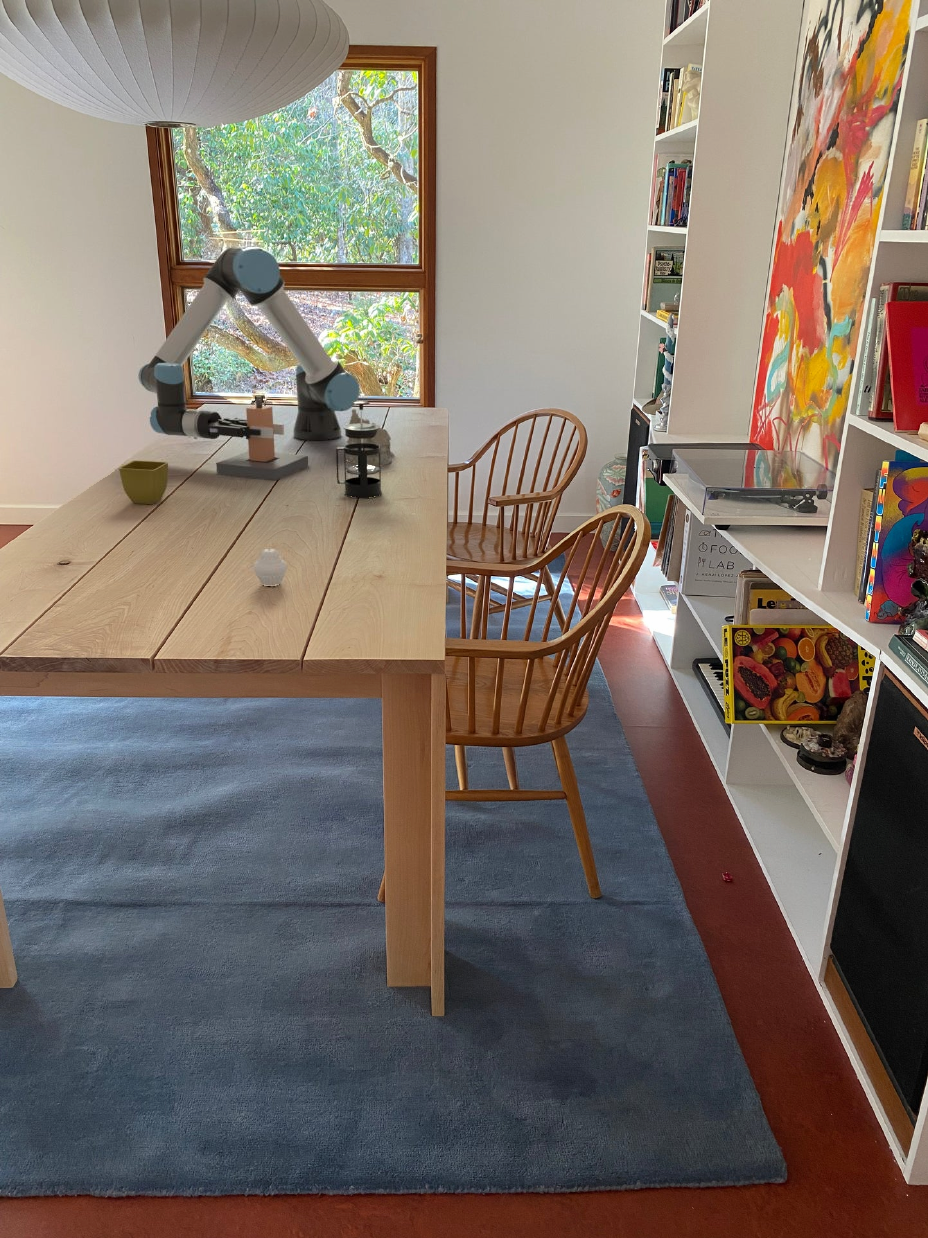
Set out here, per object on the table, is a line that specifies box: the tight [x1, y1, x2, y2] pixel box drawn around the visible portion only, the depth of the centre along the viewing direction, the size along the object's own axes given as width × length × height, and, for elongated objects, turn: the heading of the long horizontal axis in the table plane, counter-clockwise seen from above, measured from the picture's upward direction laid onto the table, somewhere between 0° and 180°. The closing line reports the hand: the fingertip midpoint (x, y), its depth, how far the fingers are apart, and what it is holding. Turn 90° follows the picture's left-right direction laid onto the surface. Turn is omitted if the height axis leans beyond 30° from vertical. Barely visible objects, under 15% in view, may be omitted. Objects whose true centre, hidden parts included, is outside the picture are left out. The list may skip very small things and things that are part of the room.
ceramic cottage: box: [345, 408, 395, 467], centre depth 272 cm, size 16×16×15 cm
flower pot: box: [118, 460, 169, 505], centre depth 225 cm, size 9×9×9 cm
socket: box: [215, 450, 309, 481], centre depth 258 cm, size 18×18×3 cm
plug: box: [245, 398, 276, 462], centre depth 254 cm, size 5×5×16 cm
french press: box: [335, 400, 383, 499], centre depth 233 cm, size 12×9×23 cm
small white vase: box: [252, 548, 288, 585], centre depth 173 cm, size 6×6×7 cm
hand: (277, 431), depth 253 cm, fingers closed on plug, 5 cm apart
